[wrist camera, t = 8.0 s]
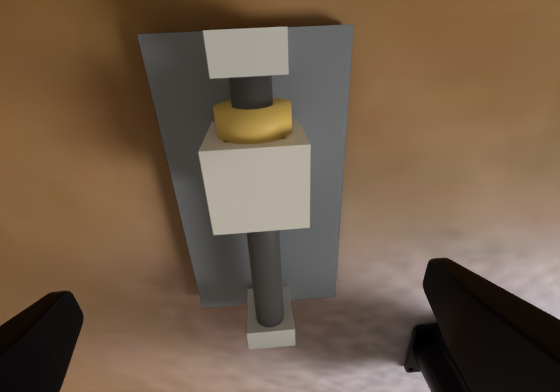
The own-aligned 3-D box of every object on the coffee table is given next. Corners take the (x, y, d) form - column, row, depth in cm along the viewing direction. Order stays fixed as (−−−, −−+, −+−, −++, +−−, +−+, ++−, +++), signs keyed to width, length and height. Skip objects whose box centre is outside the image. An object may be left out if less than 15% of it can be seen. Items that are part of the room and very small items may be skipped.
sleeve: (297, 184, 18) (309, 227, 14) (222, 190, 17) (213, 235, 14) (296, 116, 16) (310, 144, 12) (211, 121, 15) (198, 151, 12)
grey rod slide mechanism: (332, 286, 24) (350, 347, 19) (204, 298, 23) (192, 363, 19) (347, 24, 15) (389, 21, 10) (144, 34, 14) (94, 35, 10)
